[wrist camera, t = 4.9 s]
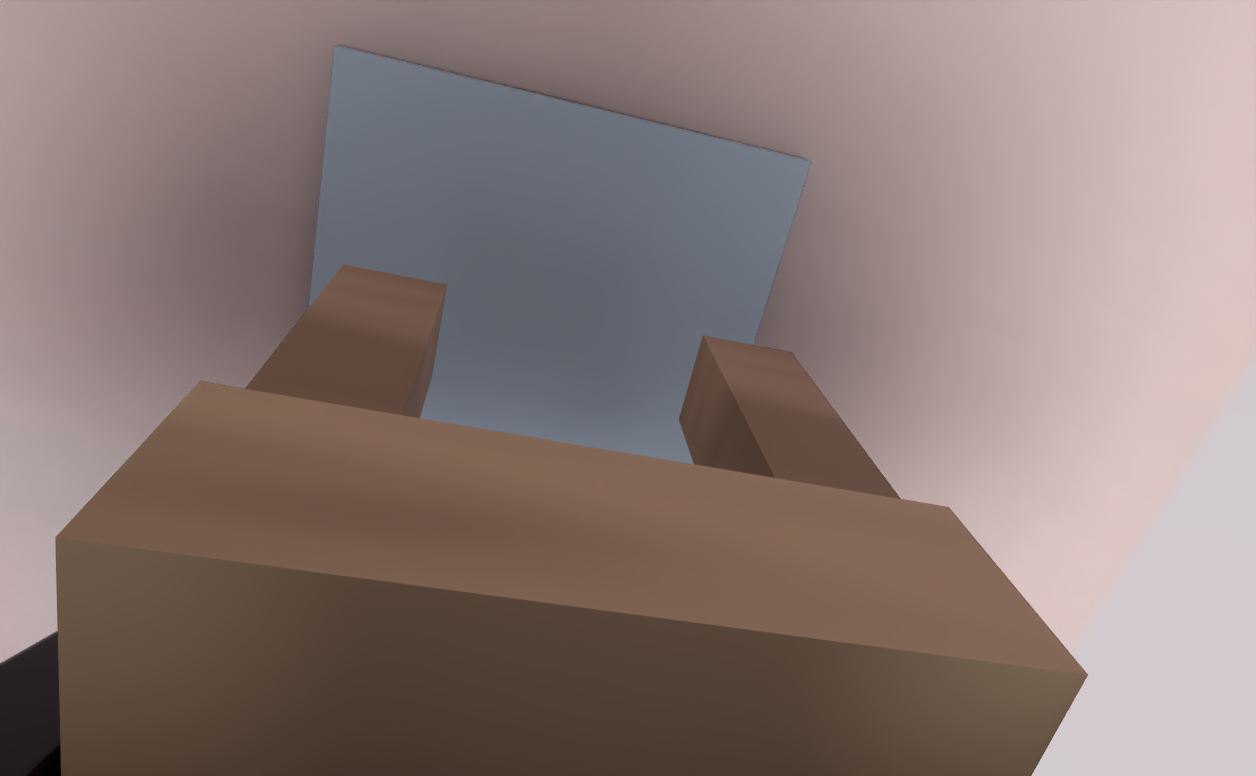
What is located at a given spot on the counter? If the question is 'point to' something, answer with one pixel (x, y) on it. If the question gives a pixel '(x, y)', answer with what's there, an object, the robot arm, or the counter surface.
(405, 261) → the pad
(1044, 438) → the counter surface
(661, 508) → the stool
